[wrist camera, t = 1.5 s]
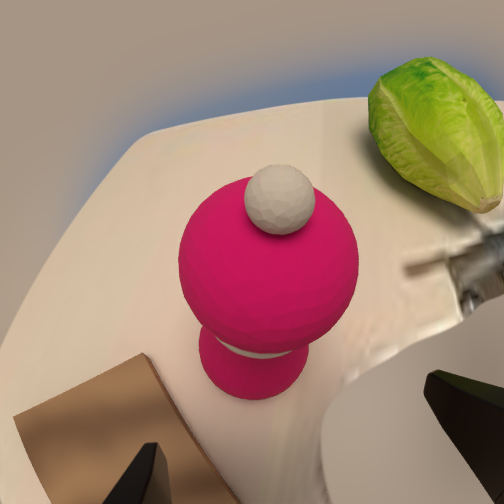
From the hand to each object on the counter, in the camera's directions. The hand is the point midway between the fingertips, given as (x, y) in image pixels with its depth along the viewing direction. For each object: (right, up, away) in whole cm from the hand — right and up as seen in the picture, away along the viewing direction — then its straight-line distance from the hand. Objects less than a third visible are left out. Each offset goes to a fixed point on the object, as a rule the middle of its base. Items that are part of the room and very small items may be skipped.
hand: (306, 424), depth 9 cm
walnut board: (-10, -15, +9) cm, 20 cm away
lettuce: (+20, +15, +28) cm, 37 cm away
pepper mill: (-2, -3, +16) cm, 16 cm away
